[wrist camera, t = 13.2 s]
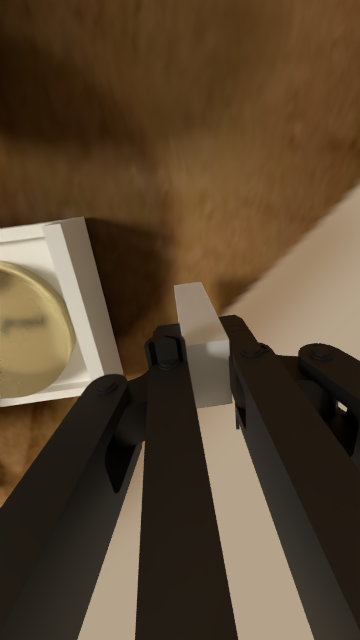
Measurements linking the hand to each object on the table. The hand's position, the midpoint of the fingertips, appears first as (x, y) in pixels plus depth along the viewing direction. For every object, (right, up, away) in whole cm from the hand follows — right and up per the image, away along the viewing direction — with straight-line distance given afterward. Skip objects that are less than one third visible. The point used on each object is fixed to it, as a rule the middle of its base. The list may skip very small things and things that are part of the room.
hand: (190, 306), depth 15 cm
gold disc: (-11, -1, +1) cm, 11 cm away
